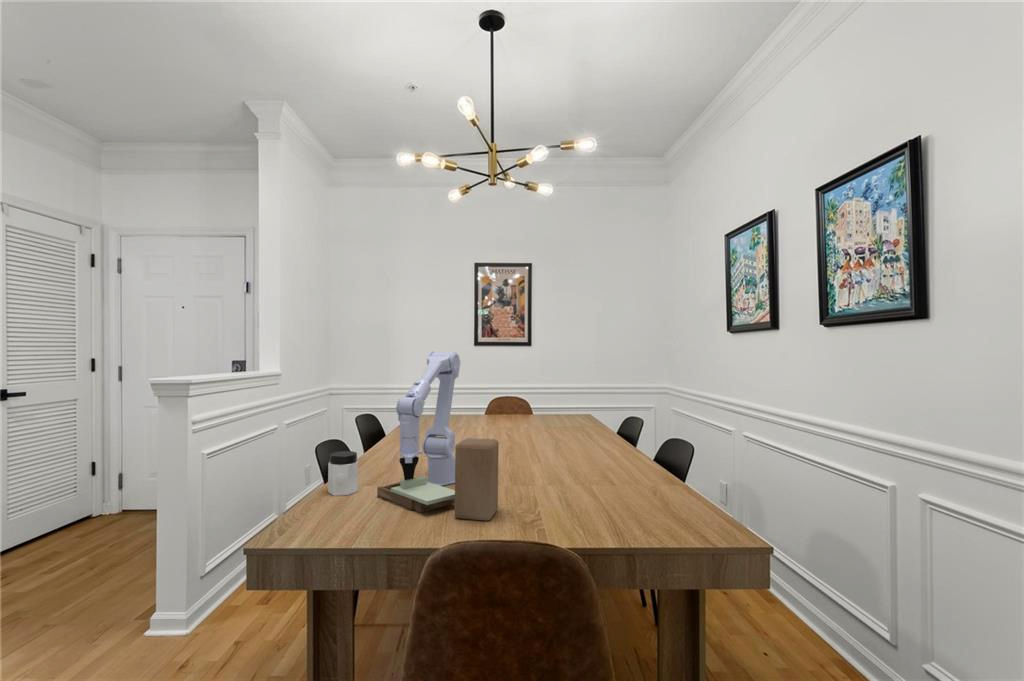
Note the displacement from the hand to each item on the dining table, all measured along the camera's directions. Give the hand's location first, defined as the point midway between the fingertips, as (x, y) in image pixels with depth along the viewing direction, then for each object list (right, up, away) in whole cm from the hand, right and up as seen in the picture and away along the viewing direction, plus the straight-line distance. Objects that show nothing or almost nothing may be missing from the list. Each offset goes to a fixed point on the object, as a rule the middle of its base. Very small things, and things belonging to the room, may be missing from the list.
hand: (408, 482), depth 153 cm
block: (+21, -5, -14) cm, 26 cm away
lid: (+6, -2, -6) cm, 9 cm away
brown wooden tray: (+4, -5, 0) cm, 6 cm away
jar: (-22, -5, +6) cm, 23 cm away
